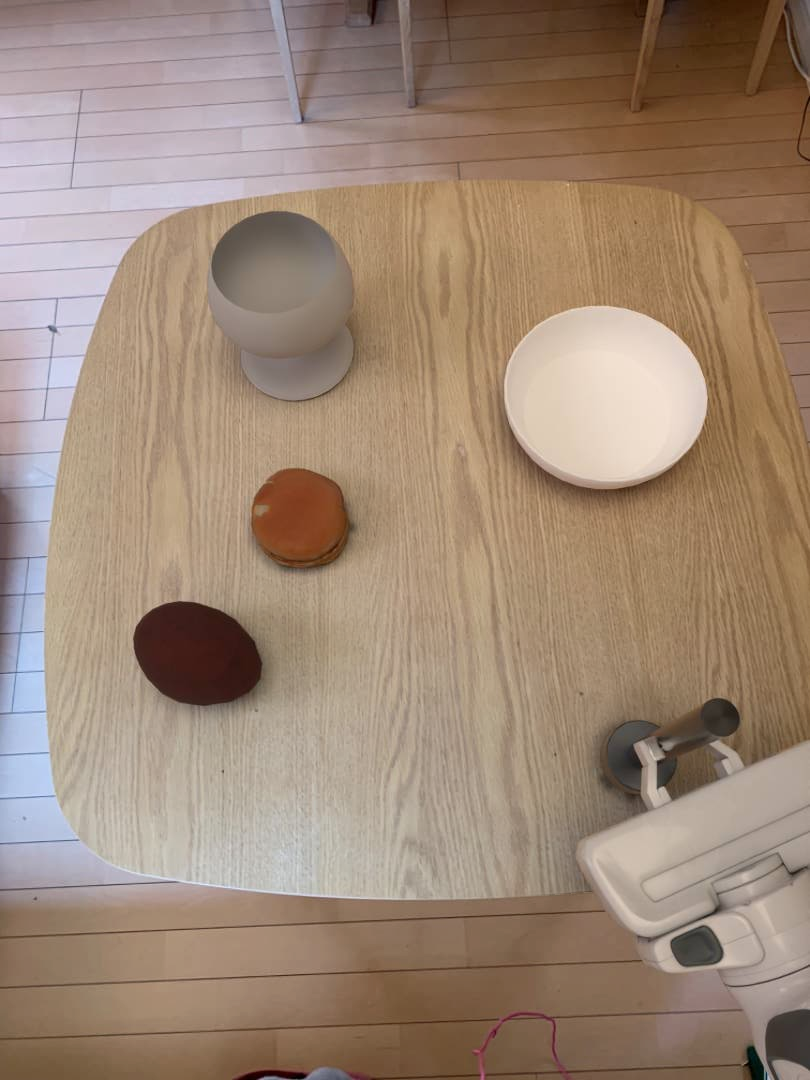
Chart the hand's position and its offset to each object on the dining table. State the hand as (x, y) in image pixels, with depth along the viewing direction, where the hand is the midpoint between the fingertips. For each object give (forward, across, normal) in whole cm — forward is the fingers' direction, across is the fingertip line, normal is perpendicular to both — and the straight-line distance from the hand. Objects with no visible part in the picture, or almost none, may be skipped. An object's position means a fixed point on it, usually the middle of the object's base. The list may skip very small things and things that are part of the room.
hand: (665, 729), depth 64 cm
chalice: (+51, +13, +13) cm, 54 cm away
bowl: (+31, -12, +13) cm, 35 cm away
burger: (+32, +20, +13) cm, 39 cm away
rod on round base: (-1, 0, +12) cm, 13 cm away
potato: (+22, +32, +13) cm, 41 cm away
